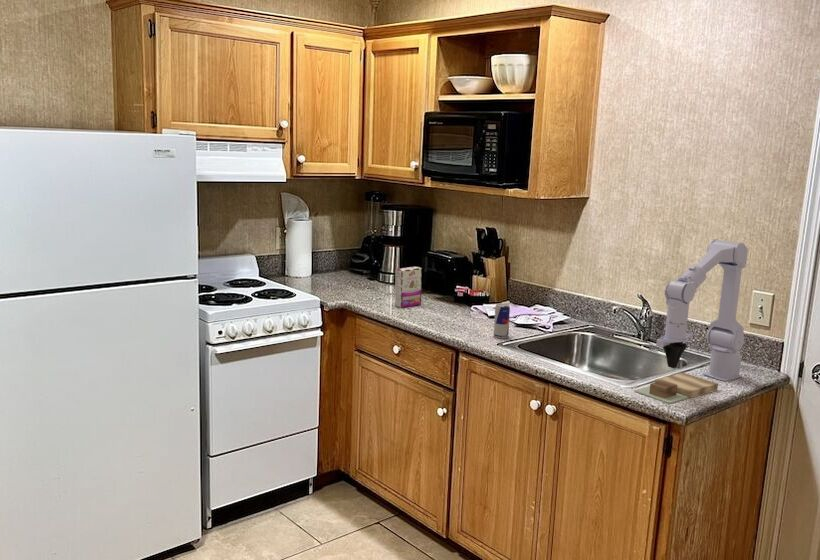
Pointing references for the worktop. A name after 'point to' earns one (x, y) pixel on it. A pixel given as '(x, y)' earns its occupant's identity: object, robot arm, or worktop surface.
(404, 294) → the candy bar box
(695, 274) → the robot arm
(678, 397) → the sage mat
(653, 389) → the walnut block
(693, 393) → the birch board
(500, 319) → the energy drink
